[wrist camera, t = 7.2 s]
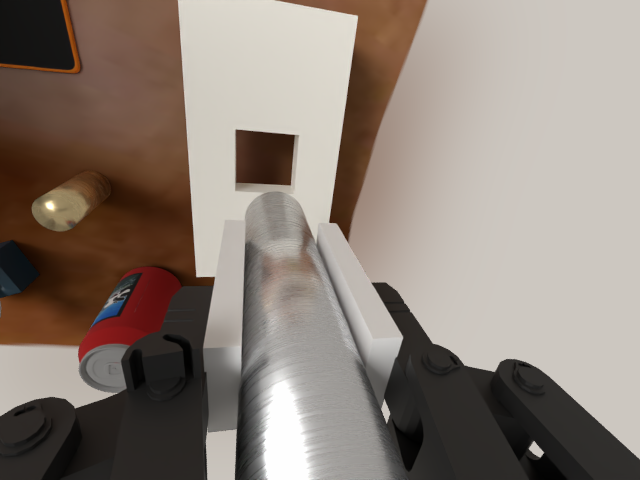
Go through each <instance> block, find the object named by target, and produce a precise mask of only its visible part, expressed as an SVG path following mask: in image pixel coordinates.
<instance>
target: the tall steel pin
mask: <svg viewBox="0 0 640 480" xmlns="http://www.w3.org/2000/svg"><path fill="white" fill-rule="evenodd" d="M245 221H246V222H245V265H244V299H243V332H242V365H241V381H240V384H239V390H238V411H237V439H236V464H235V480H408V477H407V475H406V472H405V469H404V467H403V464H402V462H401V459H400V457H399V454H398V452H397V449H396V447H395V444H394V441H393V439H392V436H391V434H390V431H389V429H388V426H387V424H386V421H385V418H384V416H383V413H382V411H381V408H380V406H379V403H378V401H377V398H376V395H375V393H374V390H373V388H372V385H371V383H370V380H369V378H368V375H367V373H366V370H365V367H364V365H363V362H362V360H361V357H360V355H359V352H358V350H357V347H356V344H355V342H354V339H353V337H352V334H351V332H350V329H349V327H348V324H347V321H346V319H345V316H344V314H343V311H342V309H341V306H340V304H339V301H338V298H337V296H336V293H335V291H334V288H333V286H332V283H331V281H330V278H329V276H328V273H327V270H326V268H325V265H324V263H323V260H322V258H321V255H320V253H319V250H318V247H317V245H316V242H315V240H314V237H313V235H312V232H311V230H310V227H309V224H308V222H307V219H306V217H305V214H304V212H303V209H302V207H301V205H300V204H299V202H298V201H297V200H296V199H295V198H294V197H292V196H291V195H289V194H286V193H283V192H277V191H273V192H267V193H264V194H261V195H259V196H258V197H256V198H255V199H254V200H253V201H252V202H251V203H250V204H249V206H248V208H247V210H246V214H245Z"/></svg>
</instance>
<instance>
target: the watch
mask: <svg viewBox="0 0 640 480" xmlns="http://www.w3.org/2000/svg"><path fill="white" fill-rule="evenodd" d="M39 275H40V274H39V273H38V272H37V270H36V269H35V268H34V267H33V265H32V264H31V263H30V262H29V260H28V259H27V258H26V257H25V255H24V254H23V253H22V252H21V250H20V249H19V248H18V247H17V245H16V244H15V243H14V242H13V240H10V241H7V242H3V243H0V298H2V297H6V296H9V295H13V294H16V293H20V292H22V291H23V290H24V289H25V288H26V287H27V286H28V285H29V284H31V283H32V282H33V281H34V280H35V279H36V278H37V277H38V276H39ZM0 316H1V302H0Z"/></svg>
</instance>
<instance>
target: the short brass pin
mask: <svg viewBox="0 0 640 480" xmlns="http://www.w3.org/2000/svg"><path fill="white" fill-rule="evenodd" d="M110 193H111V185H110V183H109V181H108V180H107V179H106V177H104V176H103V175H102V174H100V173H98V172H95V171H84V172H82V173H80V174H78V175H76V176H75V177H73V178H71V179H70V180H68V181H66V182H65V183H63V184H61V185H60V186H58V187H56V188H54V189H53V190H51V191H49V192H48V193H46V194H44V195H43V196H41V197H39V198H38V199H36V200H35V201H34V203H33V205H32V213H33V216H34V218H35V219H36V220H37V221H38V222H39V223H40V224H41V225H42V226H44V227H46V228H48V229H51V230H54V231H66V230H69V229H71V228H73V227H74V226H75V225H76V224H78V223H79V222H80V221H81V220H82V219H83V218H84V217H86V216H87V215H88V214H89V213H90V212H91V211H92V210H94V209H95V208H96V207H97V206H98V205H99V204H100V203H102V202H103V201H104V200H105V199H106V198H107V197H108V196H109V195H110Z"/></svg>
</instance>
